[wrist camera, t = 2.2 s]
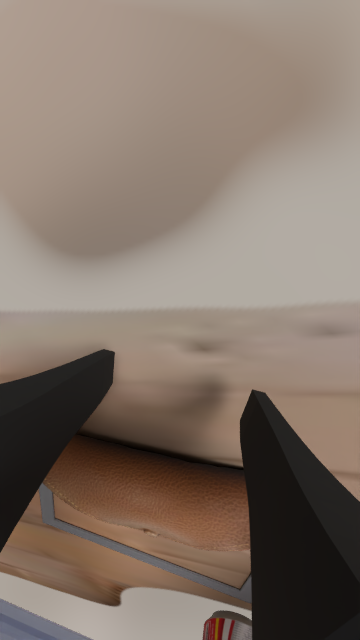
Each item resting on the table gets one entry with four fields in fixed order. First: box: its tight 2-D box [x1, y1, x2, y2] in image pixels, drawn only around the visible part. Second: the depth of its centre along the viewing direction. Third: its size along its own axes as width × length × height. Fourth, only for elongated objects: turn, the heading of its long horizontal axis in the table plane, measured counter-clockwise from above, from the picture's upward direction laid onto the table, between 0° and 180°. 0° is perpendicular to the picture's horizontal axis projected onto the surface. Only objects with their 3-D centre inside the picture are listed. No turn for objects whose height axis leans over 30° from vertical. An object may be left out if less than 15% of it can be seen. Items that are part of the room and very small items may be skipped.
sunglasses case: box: [42, 434, 250, 551], centre depth 16 cm, size 18×7×7 cm
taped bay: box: [39, 483, 252, 603], centre depth 20 cm, size 24×12×1 cm, turn 79°
